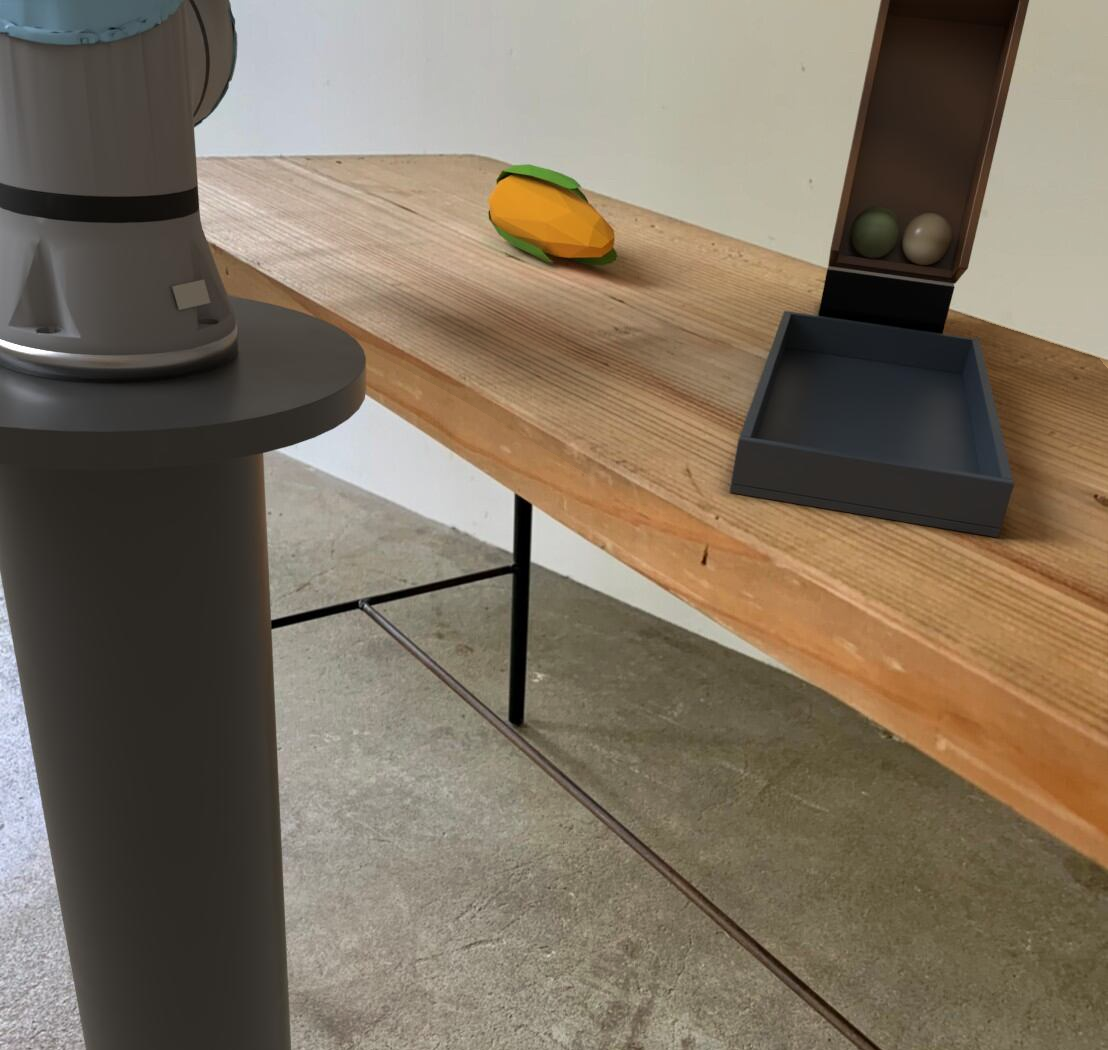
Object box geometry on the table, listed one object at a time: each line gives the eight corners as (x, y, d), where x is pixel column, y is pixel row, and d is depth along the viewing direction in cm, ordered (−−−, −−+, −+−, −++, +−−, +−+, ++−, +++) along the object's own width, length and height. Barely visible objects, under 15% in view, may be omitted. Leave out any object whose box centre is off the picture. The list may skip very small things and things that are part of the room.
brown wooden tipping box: (955, 283, 87) (971, 265, 79) (827, 266, 88) (830, 246, 81) (1029, -40, 82) (1053, -95, 74) (892, -53, 83) (902, -108, 75)
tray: (997, 537, 63) (1014, 483, 61) (729, 492, 65) (738, 438, 64) (968, 380, 89) (979, 338, 87) (776, 351, 91) (784, 310, 89)
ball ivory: (898, 209, 84) (886, 259, 86) (932, 223, 82) (920, 274, 84) (933, 204, 85) (921, 254, 88) (968, 218, 83) (955, 268, 85)
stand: (933, 369, 90) (954, 286, 87) (810, 351, 92) (827, 269, 89) (928, 318, 105) (946, 245, 101) (822, 303, 106) (836, 231, 103)
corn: (538, 150, 116) (654, 188, 102) (537, 233, 121) (648, 281, 107) (469, 155, 113) (579, 195, 99) (471, 241, 118) (576, 290, 104)
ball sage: (845, 209, 86) (837, 247, 85) (885, 187, 83) (877, 226, 82) (873, 237, 88) (865, 275, 87) (913, 218, 85) (906, 256, 84)
